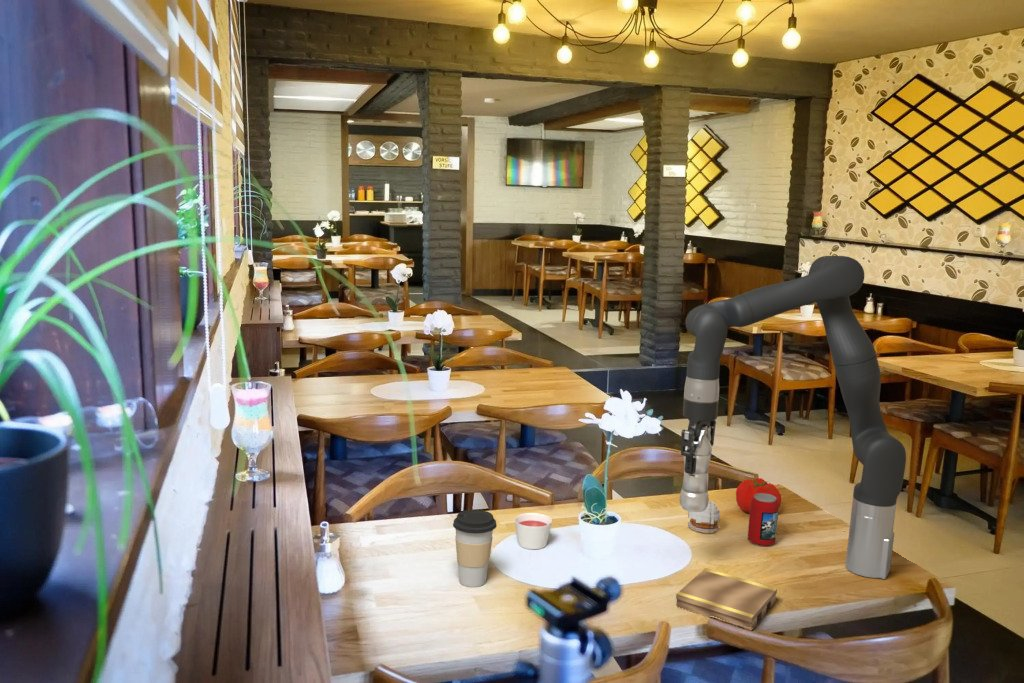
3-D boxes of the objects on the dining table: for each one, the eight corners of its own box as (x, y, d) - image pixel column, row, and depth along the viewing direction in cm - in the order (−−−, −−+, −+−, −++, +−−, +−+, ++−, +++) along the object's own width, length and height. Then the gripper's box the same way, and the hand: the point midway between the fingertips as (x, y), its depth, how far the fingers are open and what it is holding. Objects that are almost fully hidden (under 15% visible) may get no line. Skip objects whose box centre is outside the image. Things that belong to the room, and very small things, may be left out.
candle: (557, 548, 199) (558, 523, 198) (523, 554, 195) (524, 529, 194) (540, 535, 207) (541, 511, 206) (507, 540, 203) (508, 515, 202)
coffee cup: (446, 574, 183) (447, 510, 180) (486, 569, 186) (488, 506, 184) (458, 593, 174) (460, 526, 172) (500, 588, 177) (503, 521, 175)
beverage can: (769, 550, 203) (773, 503, 201) (743, 542, 207) (747, 497, 205) (779, 542, 208) (783, 496, 206) (753, 534, 212) (757, 490, 210)
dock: (775, 602, 176) (777, 588, 175) (750, 632, 163) (751, 617, 162) (704, 580, 185) (705, 567, 184) (675, 607, 172) (676, 593, 171)
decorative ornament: (716, 524, 218) (721, 470, 216) (719, 536, 211) (724, 479, 208) (686, 522, 219) (691, 467, 217) (688, 533, 212) (693, 477, 209)
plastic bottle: (711, 508, 188) (718, 423, 185) (702, 517, 182) (708, 430, 179) (684, 502, 191) (690, 419, 188) (674, 511, 186) (680, 425, 182)
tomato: (774, 523, 220) (776, 493, 219) (728, 513, 227) (730, 483, 225) (785, 509, 231) (788, 480, 230) (741, 500, 237) (743, 471, 236)
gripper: (704, 405, 174) (699, 481, 177) (729, 394, 186) (724, 465, 189) (671, 400, 179) (667, 474, 181) (698, 389, 190) (693, 458, 193)
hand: (696, 469), depth 185 cm, fingers closed on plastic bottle, 6 cm apart
